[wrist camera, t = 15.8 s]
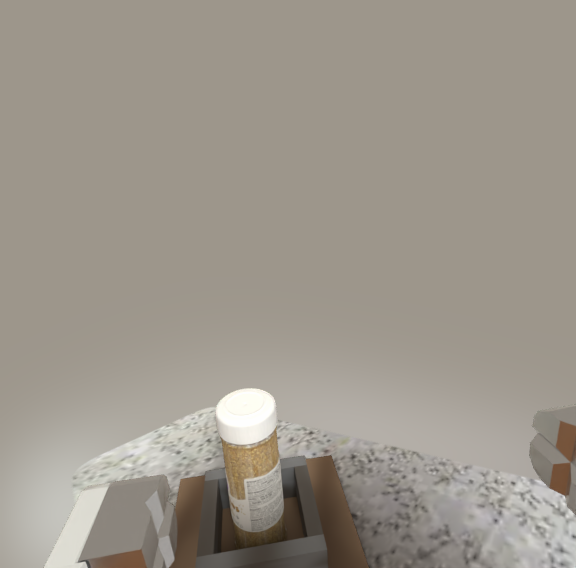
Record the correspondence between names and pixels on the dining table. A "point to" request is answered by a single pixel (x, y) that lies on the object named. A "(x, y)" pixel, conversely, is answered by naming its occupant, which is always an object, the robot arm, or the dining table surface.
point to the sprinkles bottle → (252, 466)
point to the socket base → (297, 516)
